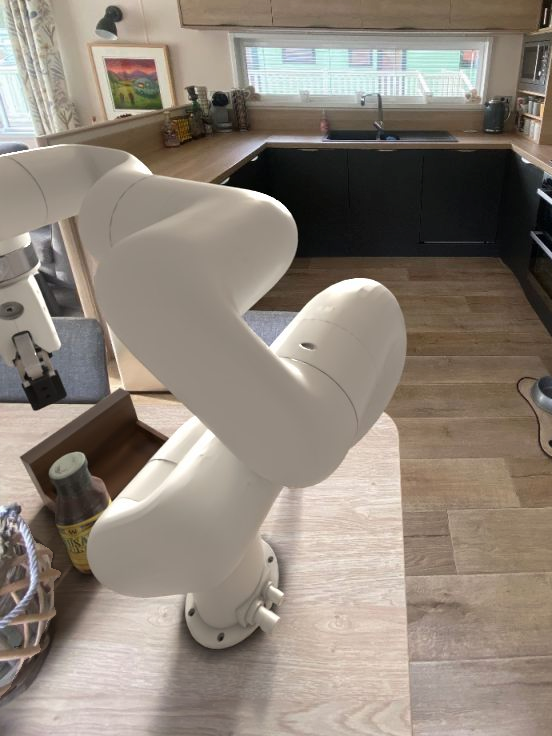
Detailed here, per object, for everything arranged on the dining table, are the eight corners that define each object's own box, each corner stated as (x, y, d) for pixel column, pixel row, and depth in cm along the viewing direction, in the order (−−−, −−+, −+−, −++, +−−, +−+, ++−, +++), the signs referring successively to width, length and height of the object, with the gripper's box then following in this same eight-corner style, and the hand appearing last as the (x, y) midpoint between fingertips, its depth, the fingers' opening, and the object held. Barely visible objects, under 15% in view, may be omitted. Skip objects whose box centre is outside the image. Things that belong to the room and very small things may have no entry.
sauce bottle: (67, 581, 57) (19, 493, 49) (88, 534, 63) (48, 449, 55) (117, 571, 58) (77, 483, 50) (133, 526, 64) (99, 441, 56)
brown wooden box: (174, 455, 75) (160, 410, 70) (85, 540, 62) (61, 491, 57) (134, 431, 80) (119, 387, 75) (44, 504, 67) (19, 456, 62)
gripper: (49, 279, 40) (95, 402, 47) (26, 231, 51) (66, 336, 58) (-57, 310, 35) (13, 443, 42) (-57, 249, 46) (-2, 362, 53)
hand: (44, 381), depth 50 cm, fingers open, 9 cm apart
